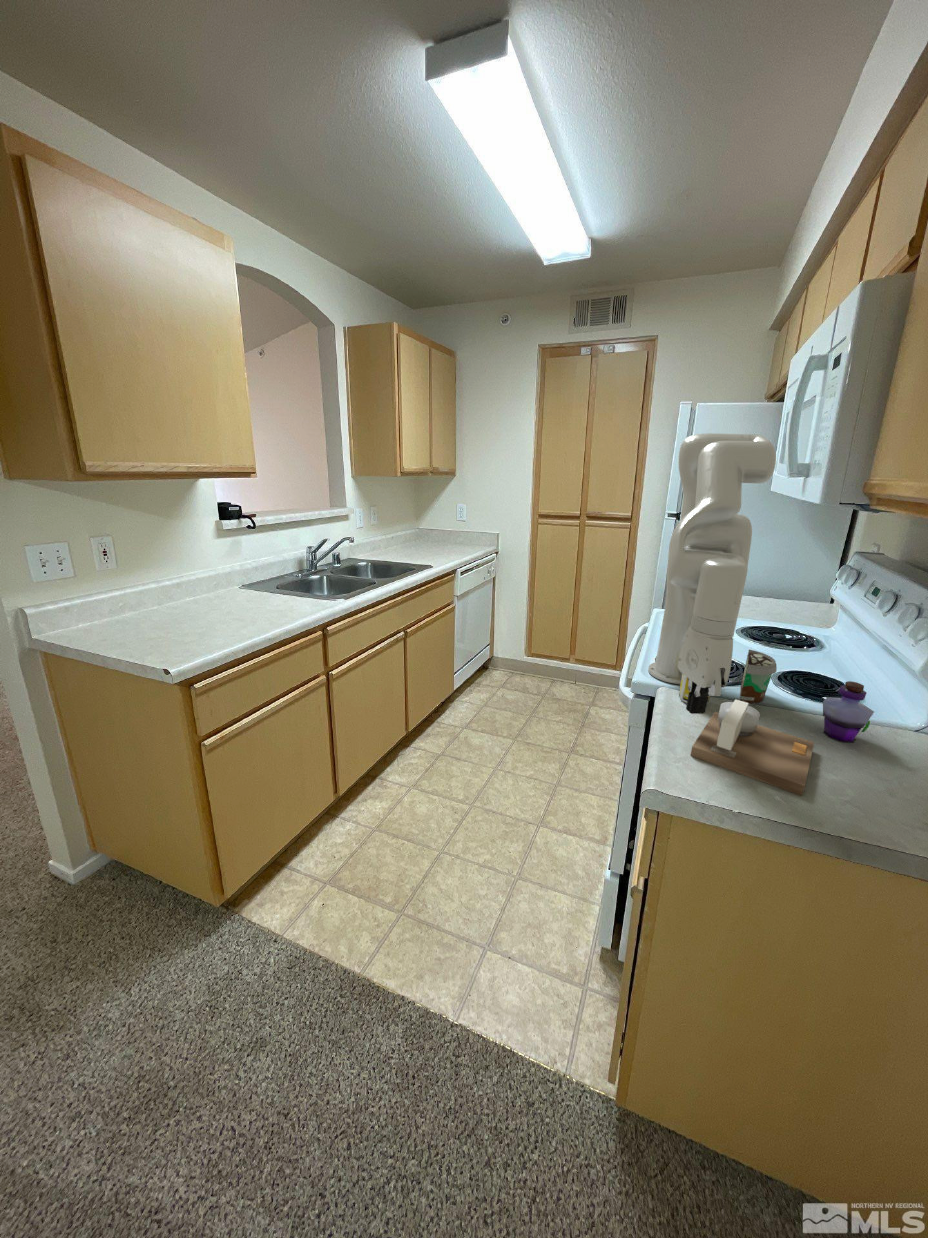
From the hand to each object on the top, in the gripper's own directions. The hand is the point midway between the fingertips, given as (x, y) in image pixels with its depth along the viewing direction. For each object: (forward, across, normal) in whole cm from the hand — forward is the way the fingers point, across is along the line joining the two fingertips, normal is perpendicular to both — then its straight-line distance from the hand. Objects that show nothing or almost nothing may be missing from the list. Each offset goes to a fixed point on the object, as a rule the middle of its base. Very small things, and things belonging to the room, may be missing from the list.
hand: (695, 711), depth 98 cm
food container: (+6, -16, +26) cm, 31 cm away
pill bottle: (+6, -16, +10) cm, 19 cm away
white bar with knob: (+3, +4, +6) cm, 8 cm away
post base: (+6, +6, +9) cm, 13 cm away
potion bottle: (+6, +1, +32) cm, 33 cm away
